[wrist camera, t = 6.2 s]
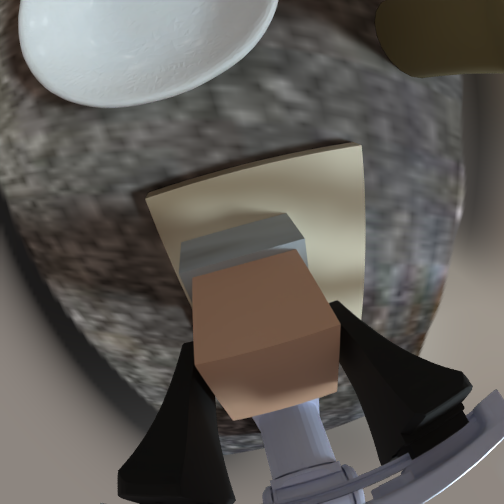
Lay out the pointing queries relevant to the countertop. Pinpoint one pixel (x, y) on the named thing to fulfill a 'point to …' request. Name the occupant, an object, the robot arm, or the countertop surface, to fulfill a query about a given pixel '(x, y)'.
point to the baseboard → (274, 192)
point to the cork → (442, 36)
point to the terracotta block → (264, 335)
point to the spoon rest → (136, 45)
